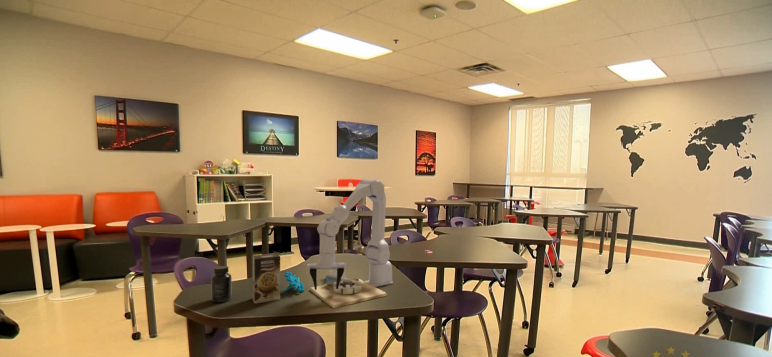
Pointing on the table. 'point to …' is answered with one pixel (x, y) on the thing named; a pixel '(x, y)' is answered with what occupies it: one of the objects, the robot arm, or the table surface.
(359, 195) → the robot arm
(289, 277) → the gear
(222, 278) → the supplement bottle
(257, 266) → the cookie box
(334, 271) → the cream cube
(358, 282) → the faceted metal ring
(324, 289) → the beige square board
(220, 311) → the table surface
